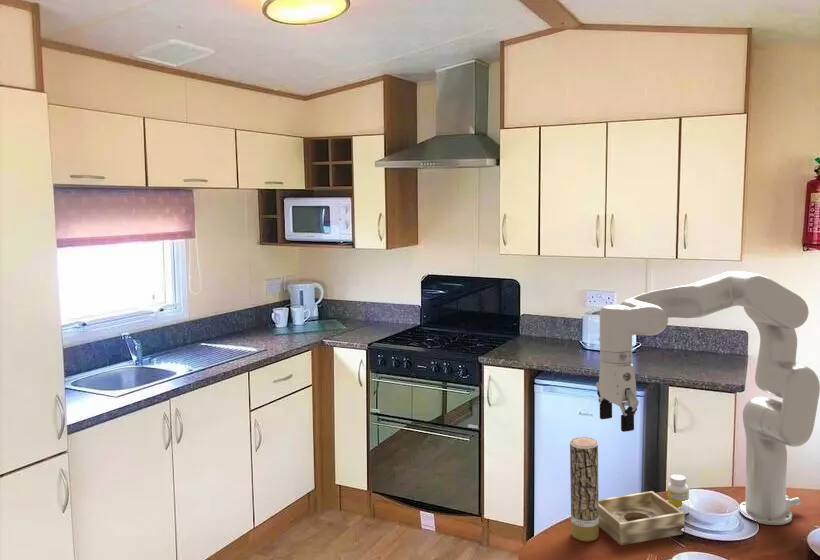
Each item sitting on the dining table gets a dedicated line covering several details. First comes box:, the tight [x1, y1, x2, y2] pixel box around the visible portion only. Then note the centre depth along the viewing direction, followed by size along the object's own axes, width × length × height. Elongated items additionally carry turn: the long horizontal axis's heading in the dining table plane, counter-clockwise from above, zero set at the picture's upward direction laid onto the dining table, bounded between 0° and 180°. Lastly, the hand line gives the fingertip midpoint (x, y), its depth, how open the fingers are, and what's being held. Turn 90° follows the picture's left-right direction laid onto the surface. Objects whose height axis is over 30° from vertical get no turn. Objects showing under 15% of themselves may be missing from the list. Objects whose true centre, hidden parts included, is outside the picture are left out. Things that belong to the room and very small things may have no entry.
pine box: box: [598, 490, 686, 546], centre depth 179 cm, size 18×14×6 cm
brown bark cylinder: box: [569, 436, 600, 543], centre depth 174 cm, size 7×7×25 cm
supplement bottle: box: [667, 473, 690, 508], centre depth 186 cm, size 5×5×10 cm
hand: (616, 424), depth 169 cm, fingers open, 9 cm apart
